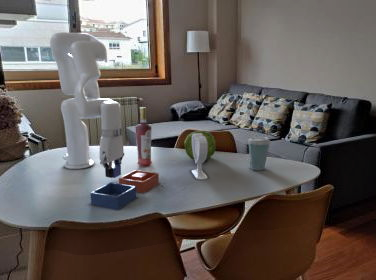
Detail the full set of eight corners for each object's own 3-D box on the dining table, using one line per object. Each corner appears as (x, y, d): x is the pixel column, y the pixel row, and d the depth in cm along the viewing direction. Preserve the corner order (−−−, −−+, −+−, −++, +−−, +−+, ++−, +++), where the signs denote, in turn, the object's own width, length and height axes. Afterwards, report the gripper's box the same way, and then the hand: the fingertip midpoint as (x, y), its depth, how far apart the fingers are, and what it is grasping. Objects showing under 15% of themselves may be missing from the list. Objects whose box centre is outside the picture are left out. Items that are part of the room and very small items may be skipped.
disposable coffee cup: (243, 169, 167) (244, 138, 164) (250, 163, 177) (252, 134, 174) (265, 173, 164) (266, 141, 160) (271, 166, 173) (273, 136, 170)
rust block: (131, 186, 143) (131, 175, 141) (138, 182, 147) (137, 172, 146) (141, 187, 141) (140, 177, 140) (147, 184, 145) (147, 173, 144)
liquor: (144, 168, 165) (142, 109, 159) (133, 166, 169) (131, 107, 162) (155, 164, 171) (154, 107, 165) (144, 162, 175) (142, 105, 168)
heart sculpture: (190, 169, 166) (190, 131, 162) (200, 168, 168) (200, 131, 164) (197, 180, 152) (197, 139, 148) (209, 179, 154) (209, 138, 149)
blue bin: (91, 204, 126) (90, 192, 125) (111, 193, 136) (110, 182, 135) (117, 209, 122) (117, 197, 121) (136, 197, 133) (136, 186, 132)
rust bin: (119, 188, 141) (118, 178, 140) (135, 179, 151) (135, 169, 150) (143, 193, 137) (143, 182, 136) (158, 183, 147) (158, 173, 146)
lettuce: (216, 158, 194) (211, 130, 195) (220, 156, 173) (215, 126, 174) (186, 163, 191) (182, 135, 192) (187, 162, 171) (182, 131, 172)
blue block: (105, 176, 146) (105, 166, 145) (112, 173, 150) (111, 163, 149) (114, 178, 145) (114, 168, 144) (121, 174, 149) (120, 164, 148)
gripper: (116, 127, 152) (118, 167, 157) (89, 135, 136) (91, 180, 141) (131, 129, 150) (132, 170, 154) (105, 138, 134) (107, 183, 139)
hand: (113, 174), depth 148 cm, fingers closed on blue block, 4 cm apart
